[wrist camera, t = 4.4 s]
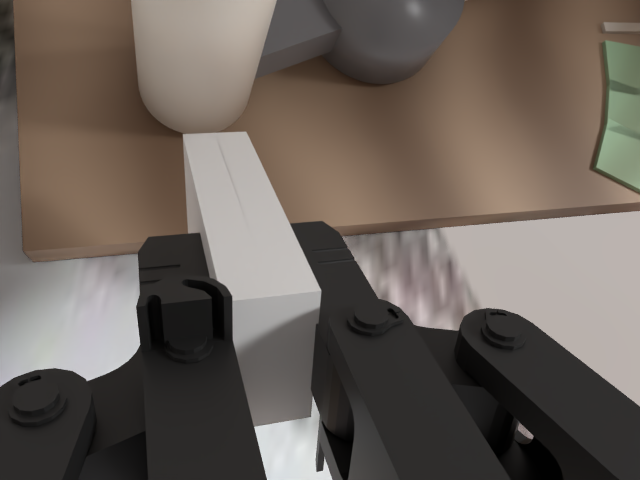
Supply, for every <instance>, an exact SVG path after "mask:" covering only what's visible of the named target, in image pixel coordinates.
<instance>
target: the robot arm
mask: <svg viewBox="0 0 640 480" xmlns="http://www.w3.org/2000/svg"><path fill="white" fill-rule="evenodd" d="M183 149H184V168H185V186H186V205H187V223H188V234H177V235H164V236H152V237H148V238H147V239H146V241H145V242H144V244H143V245H142V247H141V248H140V250H139V251H138V263H139V282H140V296H139V299H138V303H137V306H136V309H137V318H138V327H139V335H140V346H139V348H138V350H137V352H136V353H135V354H134V356H133V357H132V358H131V359H130V360H129V361H128V362H126V363H125V364H124V365H122V366H121V367H119V368H118V369H116V370H114V371H112V372H110V373H107V374H105V375H103V376H100V377H98V378H95V379H92V380H90V381H86V379H85V378H83V377H81V376H80V375H78V374H76V373H75V372H73V371H68V370H62V369H56V368H53V369H44V370H35V371H32V372H29V373H26V374H23V375H21V376H18V377H15V378H13V379H12V380H10V381H9V382H7V383H6V384H4V385H2V386H1V387H0V480H267V478H266V474H265V470H264V466H263V462H262V458H261V454H260V450H259V445H258V441H257V437H256V433H255V429H254V427H255V426H260V425H266V424H272V423H278V422H284V421H290V420H295V419H301V418H307V417H311V409H312V397H314V400H315V402H316V405H317V408H318V411H319V413H320V420H319V430H318V441H317V451H316V470H317V472H318V471H323V465H324V456H325V459H326V462H327V465H328V468H329V471H330V474H331V476H332V479H333V480H640V407H639V406H638V405H637V404H636V403H635V402H633V401H632V400H631V399H629V398H628V397H627V396H626V395H624V394H623V393H622V392H620V391H619V390H618V389H617V388H615V387H614V386H613V385H611V384H610V383H609V382H607V381H606V380H605V379H603V378H602V377H601V376H600V375H598V374H597V373H596V372H594V371H593V370H592V369H591V368H589V367H588V366H587V365H586V364H584V363H583V362H582V361H580V360H579V359H578V358H577V357H575V356H574V355H573V354H571V353H570V352H569V351H567V350H566V349H565V348H564V347H562V346H561V345H560V344H558V343H557V342H556V341H555V340H553V339H552V338H551V337H550V336H548V335H547V334H546V333H544V332H543V331H542V330H541V329H539V328H538V327H537V326H535V325H534V324H533V323H531V322H530V321H528V320H526V319H525V318H523V317H521V316H519V315H518V314H514V313H511V312H508V311H505V310H501V309H490V308H486V309H480V310H474V311H472V312H471V313H469V314H467V315H466V316H464V318H463V320H462V322H461V324H460V328H459V331H454V330H444V329H434V328H426V327H420V326H416V325H413V323H412V322H411V320H410V319H409V317H408V316H407V315H406V314H405V313H404V312H403V311H402V310H401V309H400V308H399V307H397V306H395V305H393V304H392V303H390V302H388V301H385V300H381V299H378V297H377V296H376V294H375V292H374V291H373V289H372V287H371V286H370V284H369V282H368V281H367V279H366V277H365V275H364V274H363V272H362V270H361V269H360V267H359V265H358V264H357V262H356V261H354V257H353V255H352V254H351V252H350V250H349V249H347V245H346V243H345V242H344V240H343V238H342V237H341V235H340V233H339V232H338V231H336V230H335V229H333V228H332V227H331V226H329V225H328V224H326V223H325V222H323V221H313V222H301V223H289V221H288V219H287V217H286V215H285V213H284V210H283V208H282V206H281V204H280V202H279V200H278V198H277V196H276V194H275V191H274V189H273V187H272V185H271V183H270V181H269V179H268V177H267V174H266V172H265V170H264V168H263V166H262V164H261V162H260V160H259V157H258V155H257V153H256V151H255V149H254V147H253V145H252V143H251V140H250V138H249V136H248V134H247V132H222V133H197V134H183ZM519 423H521V424H522V425H523V426H524V427H525V428H526V429H527V430H528V431H529V432H530V433H531V434H532V435H533V436H534V437H533V439H529V438H527V437H526V436H524V435H523V434H522V433H521V432H520V431H518V430H517V429H518V426H519Z"/></svg>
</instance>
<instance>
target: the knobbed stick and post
mask: <svg viewBox="0 0 640 480" xmlns="http://www.w3.org/2000/svg"><path fill="white" fill-rule="evenodd" d="M464 1H466V0H131V6H132V18H133V29H134V41H135V53H136V64H137V76H138V86H139V92H140V96H141V98H142V101H143V103H144V104H145V106H146V108H147V109H148V111H149V112H150V113H151V114H152V115H153V116H154V117H155V118H156V119H157V120H158V121H159V122H161V123H162V124H163V125H165V126H167V127H168V128H170V129H173V130H175V131H178V132H181V133H185V134H197V133H216V132H219V131H221V130H223V129H226V128H227V127H229V126H230V125H232V124H233V123H234V122H235V121H237V119H238V118H239V117H240V116H241V115H242V113H243V112H244V110H245V108H246V106H247V103H248V100H249V96H250V93H251V89H252V86H253V82H254V79H257V78H259V77H262V76H265V75H268V74H270V73H273V72H276V71H279V70H281V69H284V68H287V67H290V66H292V65H295V64H298V63H301V62H303V61H306V60H309V59H312V58H314V57H317V56H320V55H322V56H323V57H324V58H325V59H326V60H327V61H328V62H329V63H330V64H331V65H332V66H333V67H335V68H336V69H337V70H339V71H340V72H342V73H344V74H345V75H347V76H349V77H351V78H354V79H356V80H359V81H362V82H367V83H372V84H391V83H396V82H400V81H403V80H405V79H407V78H409V77H411V76H413V75H414V74H416V73H417V72H418V71H419V70H420V69H421V68H422V67H423V66H424V65H425V64H426V62H427V61H428V60H429V59H430V57H431V56H432V55H433V54H434V52H435V51H436V50H437V48H438V47H439V46H440V45H441V43H442V42H443V41H444V40H445V38H446V37H447V36H448V35H449V33H450V32H451V31H452V29H453V28H454V27H455V25H456V24H457V22H458V21H459V19H460V17H461V14H462V11H463V7H464Z"/></svg>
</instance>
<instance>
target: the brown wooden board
mask: <svg viewBox="0 0 640 480" xmlns="http://www.w3.org/2000/svg"><path fill="white" fill-rule="evenodd" d="M13 12H14V37H15V62H16V88H17V113H18V139H19V164H20V189H21V215H22V240H23V252H24V253H25V254H26V255H27V256H28V257H29V258H30V259H31V260H32V261H33V262H41V261H53V260H65V259H76V258H88V257H100V256H112V255H124V254H135V253H138V251H139V250H140V248H141V247H142V245H143V244H144V242H145V241H146V239H147V238H148V237H152V236H164V235H177V234H188V223H187V205H186V186H185V168H184V149H183V134H185V133H181V132H178V131H175V130H173V129H170V128H168V127H167V126H165V125H163V124H162V123H161V122H159V121H158V120H157V119H156V118H155V117H154V116H153V115H152V114H151V113H150V112H149V111H148V109H147V108H146V106H145V104H144V103H143V101H142V98H141V96H140V92H139V86H138V76H137V64H136V53H135V41H134V29H133V18H132V6H131V0H13ZM222 132H247V134H248V136H249V138H250V140H251V143H252V145H253V147H254V149H255V151H256V153H257V155H258V157H259V160H260V162H261V164H262V166H263V168H264V170H265V172H266V174H267V177H268V179H269V181H270V183H271V185H272V187H273V189H274V191H275V194H276V196H277V198H278V200H279V202H280V204H281V206H282V208H283V210H284V213H285V215H286V217H287V219H288V221H289V223H301V222H313V221H323V222H325V223H326V224H328V225H329V226H331V227H332V228H333V229H335V230H336V231H338V232H339V233H340V235H341V236H348V235H360V234H371V233H383V232H395V231H407V230H419V229H430V228H442V227H454V226H465V225H478V224H489V223H501V222H512V221H524V220H537V219H548V218H560V217H571V216H584V215H595V214H606V213H619V212H631V211H640V0H466V1H464V7H463V11H462V14H461V17H460V19H459V21H458V22H457V24H456V25H455V27H454V28H453V29H452V31H451V32H450V33H449V35H448V36H447V37H446V38H445V40H444V41H443V42H442V43H441V45H440V46H439V47H438V48H437V50H436V51H435V52H434V54H433V55H432V56H431V57H430V59H429V60H428V61H427V62H426V64H425V65H424V66H423V67H422V68H421V69H420V70H419V71H418V72H417V73H416V74H414V75H413V76H411V77H409V78H407V79H405V80H403V81H400V82H396V83H391V84H372V83H367V82H362V81H359V80H356V79H354V78H351V77H349V76H347V75H345V74H344V73H342V72H340V71H339V70H337V69H336V68H335V67H333V66H332V65H331V64H330V63H329V62H328V61H327V60H326V59H325V58H324V57H323V56H322V55H320V56H317V57H314V58H312V59H309V60H306V61H303V62H301V63H298V64H295V65H292V66H290V67H287V68H284V69H281V70H279V71H276V72H273V73H270V74H268V75H265V76H262V77H259V78H257V79H254V82H253V86H252V89H251V93H250V96H249V100H248V103H247V106H246V108H245V110H244V112H243V113H242V115H241V116H240V117H239V118H238V119H237V121H235V122H234V123H233V124H232V125H230V126H229V127H227V128H226V129H223V130H221V131H219V132H216V133H222Z"/></svg>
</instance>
